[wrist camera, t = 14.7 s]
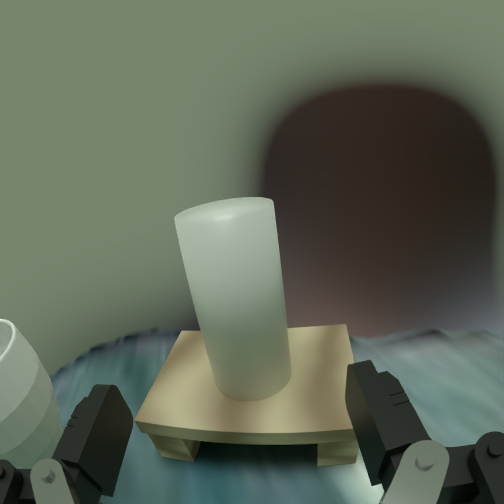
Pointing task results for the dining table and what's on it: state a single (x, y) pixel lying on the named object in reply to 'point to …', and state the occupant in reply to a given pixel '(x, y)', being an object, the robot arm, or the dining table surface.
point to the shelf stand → (259, 411)
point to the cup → (25, 403)
